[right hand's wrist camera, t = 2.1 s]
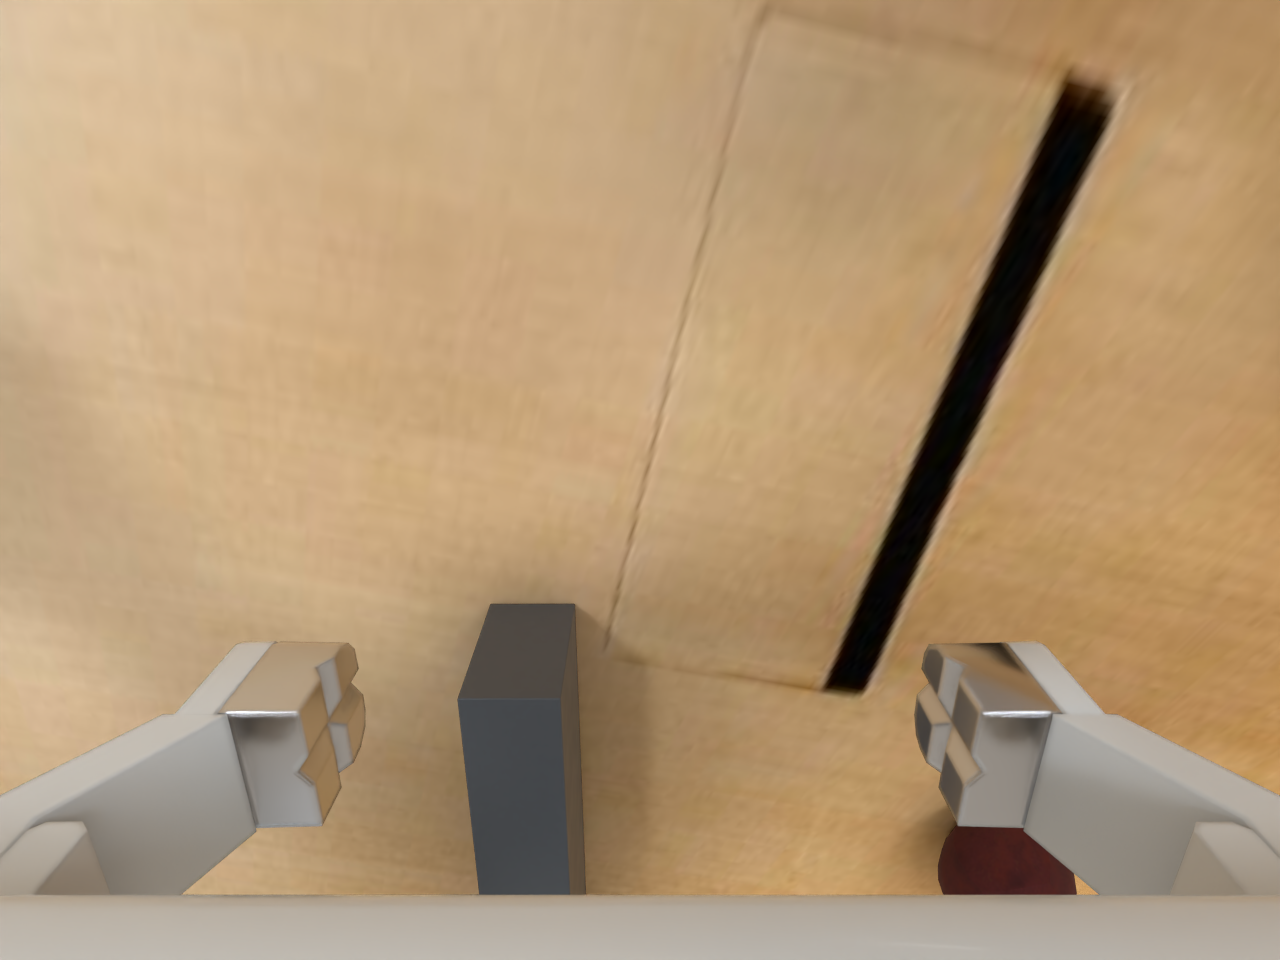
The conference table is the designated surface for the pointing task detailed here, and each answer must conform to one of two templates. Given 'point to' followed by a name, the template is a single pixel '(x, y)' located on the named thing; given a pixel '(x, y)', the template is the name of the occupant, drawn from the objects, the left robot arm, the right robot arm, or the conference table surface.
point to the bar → (525, 752)
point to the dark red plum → (1000, 864)
